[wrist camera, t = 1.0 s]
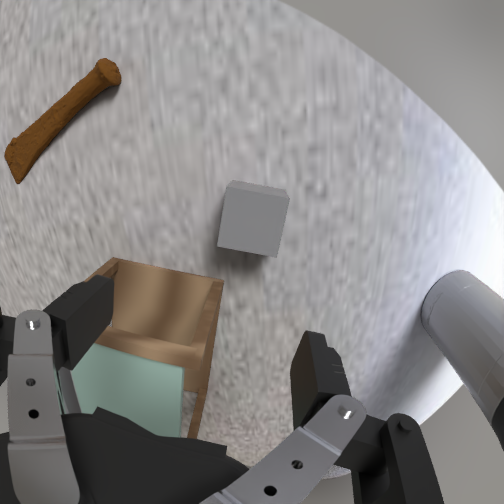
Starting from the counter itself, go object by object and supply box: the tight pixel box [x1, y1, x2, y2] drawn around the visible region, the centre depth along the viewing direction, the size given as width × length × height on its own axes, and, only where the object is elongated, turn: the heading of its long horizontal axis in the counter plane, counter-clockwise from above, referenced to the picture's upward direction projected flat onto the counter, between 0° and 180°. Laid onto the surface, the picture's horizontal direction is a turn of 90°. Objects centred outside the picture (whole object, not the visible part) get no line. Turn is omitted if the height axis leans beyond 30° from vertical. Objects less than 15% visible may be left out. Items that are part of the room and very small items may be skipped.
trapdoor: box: [59, 343, 185, 438], centre depth 23 cm, size 15×14×3 cm
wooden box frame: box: [84, 257, 224, 439], centre depth 28 cm, size 13×17×13 cm
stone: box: [217, 180, 290, 257], centre depth 27 cm, size 5×5×5 cm
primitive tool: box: [4, 58, 121, 184], centre depth 25 cm, size 19×6×4 cm, turn 119°
